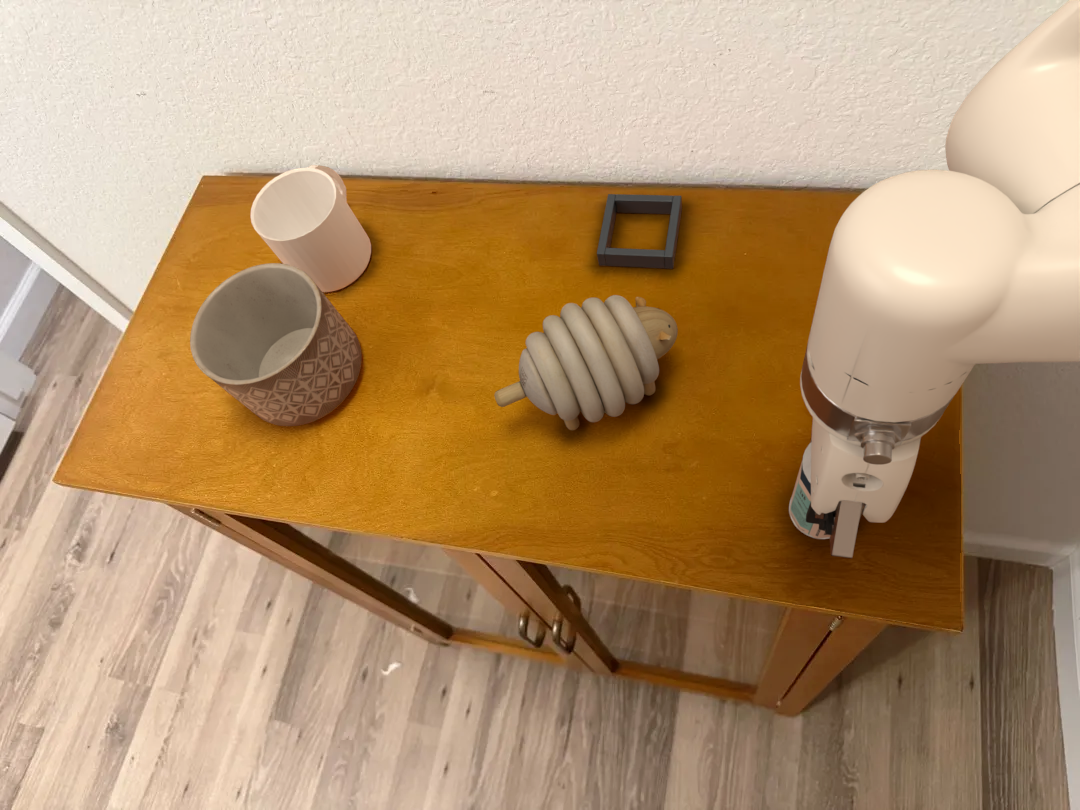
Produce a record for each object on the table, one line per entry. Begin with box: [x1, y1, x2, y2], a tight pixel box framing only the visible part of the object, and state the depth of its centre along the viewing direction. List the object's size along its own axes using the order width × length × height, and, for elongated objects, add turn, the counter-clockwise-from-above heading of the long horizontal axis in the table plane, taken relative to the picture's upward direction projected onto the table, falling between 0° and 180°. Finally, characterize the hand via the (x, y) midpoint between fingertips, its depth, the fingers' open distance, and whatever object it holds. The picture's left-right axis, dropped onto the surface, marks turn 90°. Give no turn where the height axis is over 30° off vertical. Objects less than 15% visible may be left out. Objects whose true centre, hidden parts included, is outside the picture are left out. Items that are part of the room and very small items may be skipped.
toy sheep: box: [494, 294, 679, 431], centre depth 66 cm, size 11×17×11 cm, turn 116°
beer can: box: [788, 442, 830, 540], centre depth 57 cm, size 5×5×12 cm
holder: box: [596, 193, 683, 270], centre depth 77 cm, size 7×7×2 cm
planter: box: [189, 262, 363, 427], centre depth 74 cm, size 13×13×10 cm
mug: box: [249, 164, 372, 293], centre depth 81 cm, size 12×9×9 cm
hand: (830, 484), depth 57 cm, fingers closed on beer can, 4 cm apart
